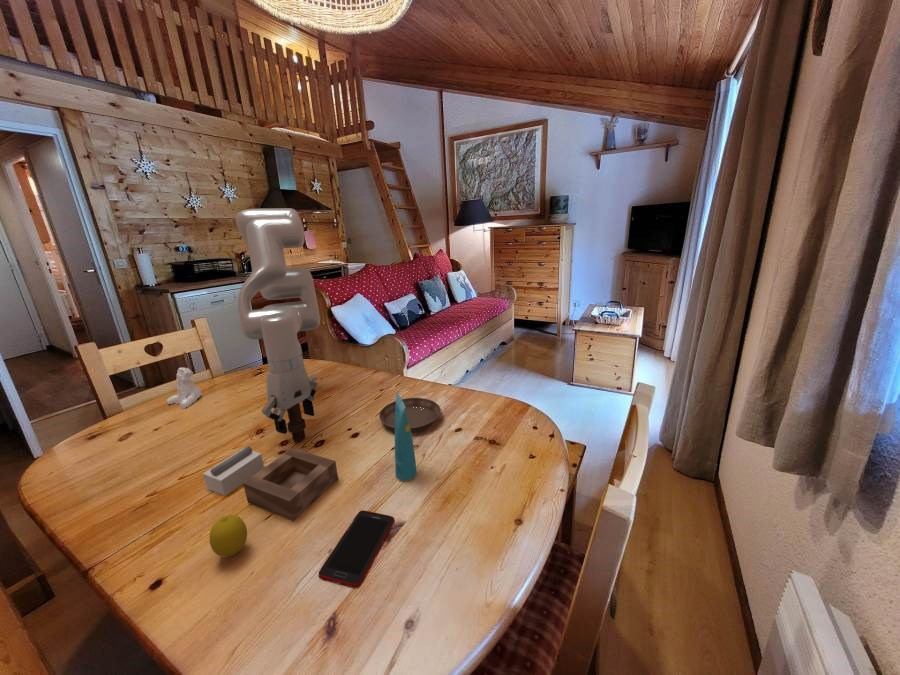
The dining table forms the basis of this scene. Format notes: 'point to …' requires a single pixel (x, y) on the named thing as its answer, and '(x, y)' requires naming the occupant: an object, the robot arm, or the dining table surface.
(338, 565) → the cell phone
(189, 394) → the seated beast figurine
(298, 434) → the bolt
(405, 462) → the tube
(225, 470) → the pin mount
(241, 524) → the lemon
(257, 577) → the dining table surface
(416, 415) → the plant saucer
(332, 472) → the socket
